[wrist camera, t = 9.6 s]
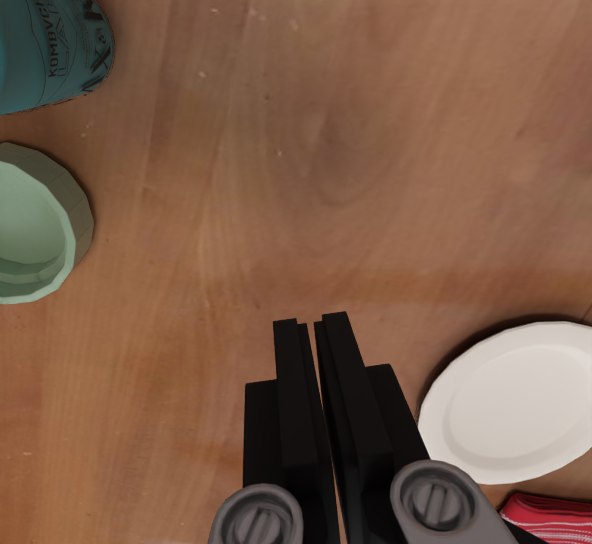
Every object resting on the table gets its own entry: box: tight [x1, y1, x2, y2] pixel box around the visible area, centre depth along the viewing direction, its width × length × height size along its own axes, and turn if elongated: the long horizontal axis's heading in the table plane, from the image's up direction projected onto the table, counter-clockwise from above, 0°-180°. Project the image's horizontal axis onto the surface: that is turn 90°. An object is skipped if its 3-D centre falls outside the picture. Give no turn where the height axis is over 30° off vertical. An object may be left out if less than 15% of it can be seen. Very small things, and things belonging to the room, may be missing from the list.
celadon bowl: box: [0, 142, 94, 304], centre depth 31 cm, size 10×10×4 cm
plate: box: [417, 320, 592, 485], centre depth 45 cm, size 21×21×2 cm
